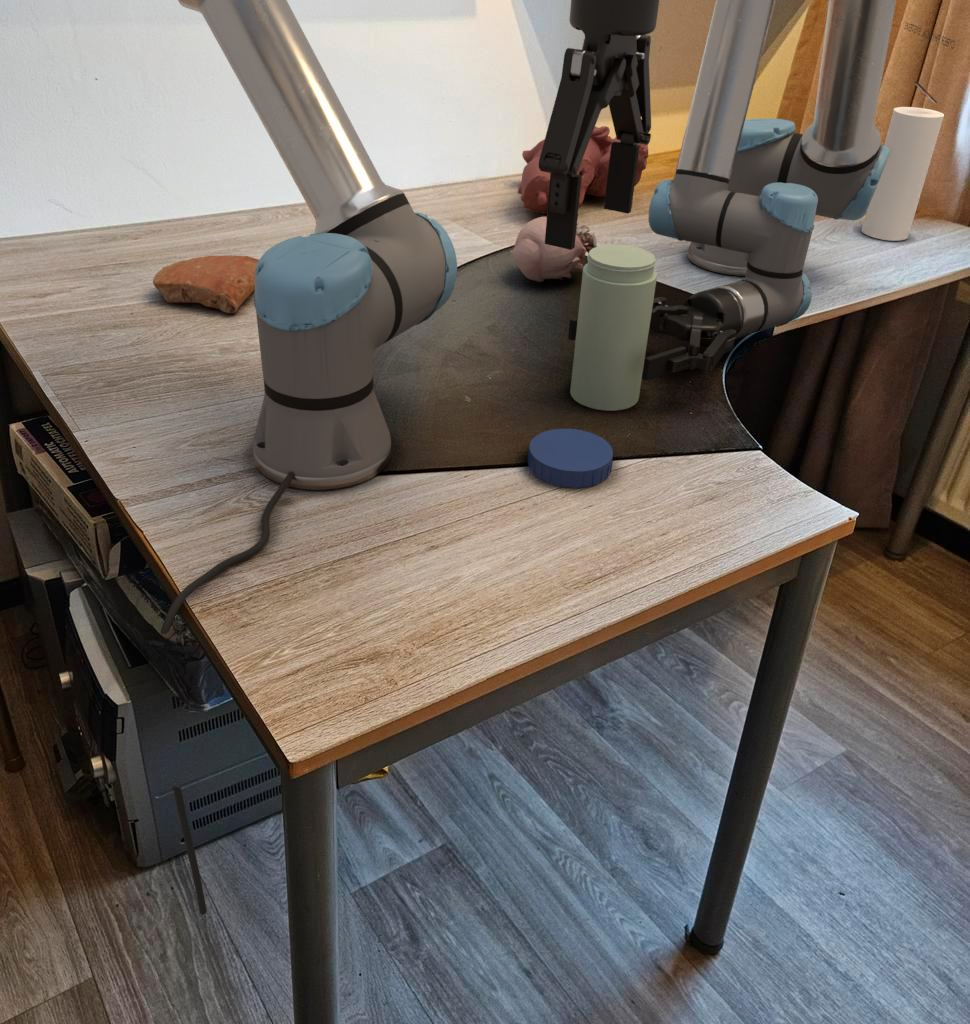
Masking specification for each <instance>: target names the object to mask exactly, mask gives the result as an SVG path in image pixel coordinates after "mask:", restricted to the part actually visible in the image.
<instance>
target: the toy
mask: <svg viewBox="0 0 970 1024" xmlns="http://www.w3.org/2000/svg"><path fill="white" fill-rule="evenodd" d="M546 222H547V216H540V217H537V218H534V219H532V220H530V221H528V222H527V223H525V225H524V226H523V227H522V228H521V229H520V231H519V233H518V235H517V237H516V239H515V243H514V248H513V249H510V250H509V251H510V254H511V256H512V258H513V259H514V261H515V263H516V264H517V267H518V268H519V270H520V272H521V273H522V274H523V275H524V277H525V278H527V279H528V280H530V281H535V282H536V283H542V282H544V281H545V280H561V281H563V278H567V279H568V280H569V279H571V278H572V274H571V273H570V272H571V271H572V270H574V269H577V270H578V271H583V267H584V265H583V264H582V263H581V262H582V260H584V259H585V257H586V253H588V254H589V251H590V250H591V249H593V248H595V247H598V243H597V238H596V235H595V232H590V230H591V229H590V228H589V227H588V226H586V225H584V224H583V223H582V222H577V228H576V238H575V248H573V249H572V250H569V249H565V248H561V247H556V246H552V245H548V244H545V234H546ZM589 232H590V233H589ZM580 261H581V262H580Z"/></svg>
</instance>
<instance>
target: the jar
mask: <svg viewBox="0 0 970 1024" xmlns="http://www.w3.org/2000/svg"><path fill="white" fill-rule="evenodd" d="M586 258H587V259H586V260H587V263H586V264H584V265H583V269H582V273H581V274H582V275H581V283H580V284H581V286H580V293H579V305H578V314H577V315H578V316H577V317H578V322H577V332H576V340H574V341H575V342H574V352H573V361H572V370H571V381H570V389H569V393H570V396H571V398H572V399H573V400H574V401H575V402H576V403H578V404H580V405H582V406H583V407H586V408H589V409H593V410H597V411H606V412H607V411H611V412H612V411H613V412H614V411H622V410H623V411H624V410H626V409H630V408H632V407H633V406H635V405H636V404H637V403H638V402H639V398H640V393H641V386H642V380H643V379H642V373H643V367H644V360H645V358H646V353H647V346H648V340H649V334H650V329H649V327H650V320H651V313H652V307H653V300H654V298H655V294H656V286H657V280H658V272H657V271H656V270H655V266H656V264H657V260H656V256H655V255H654V253H652V252H650V251H648V250H646V249H644V248H641V247H637V246H633V245H627V244H602V245H597V247H595V248H593V249H591V250H590V251H589V253H588V255H587V257H586Z"/></svg>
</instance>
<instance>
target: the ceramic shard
mask: <svg viewBox="0 0 970 1024" xmlns="http://www.w3.org/2000/svg"><path fill="white" fill-rule="evenodd" d="M259 260H260V258H259V259H258V258H255V257H251V256H249V255H248V256H247V255H206V256H199V257H194V258H190V259H188V260H181V261H177V262H174V263H172V264H169V265H166V266H164V267H162V268H161V269H160V270H158V271H157V272H156V274H155V275H154V277H153V279H152V284H153V286H154V287H155V288H156V289H157V290H158V291H159V292H160V293H161V295H162V297H163V298H164V299H165V301H166V302H168V303H193V304H195V303H197V304H201V305H203V306H205V307H208V308H214V309H218V310H220V311H221V312H223V313H227V314H234V313H236V312H237V311H238V309H239V308H240V306H242V304H243V303H244V302H245V301H246V300H247V299H248V297H249V296H250V295H251V294H252V293H254V292H255V270H256V266H257V263H258V261H259Z"/></svg>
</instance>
